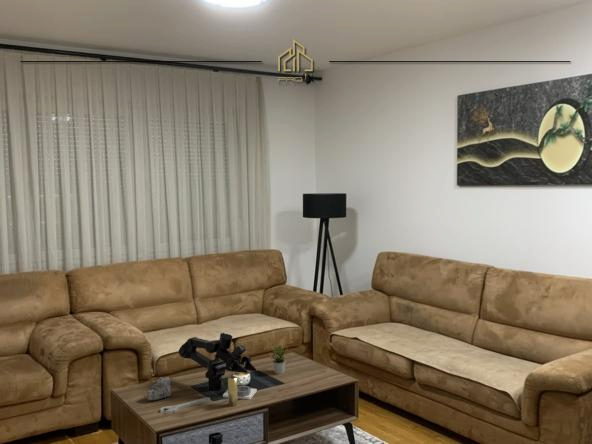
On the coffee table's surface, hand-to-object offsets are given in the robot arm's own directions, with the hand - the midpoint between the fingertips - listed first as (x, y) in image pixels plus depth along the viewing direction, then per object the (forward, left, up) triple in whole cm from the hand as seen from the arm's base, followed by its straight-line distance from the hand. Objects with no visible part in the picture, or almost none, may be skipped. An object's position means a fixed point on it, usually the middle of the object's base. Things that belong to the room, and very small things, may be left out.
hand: (251, 371), depth 280 cm
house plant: (+3, +39, -14) cm, 41 cm away
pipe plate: (-7, +3, -13) cm, 15 cm away
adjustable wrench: (-27, -17, -14) cm, 35 cm away
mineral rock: (-45, -9, -14) cm, 48 cm away
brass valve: (-6, -10, -13) cm, 18 cm away
